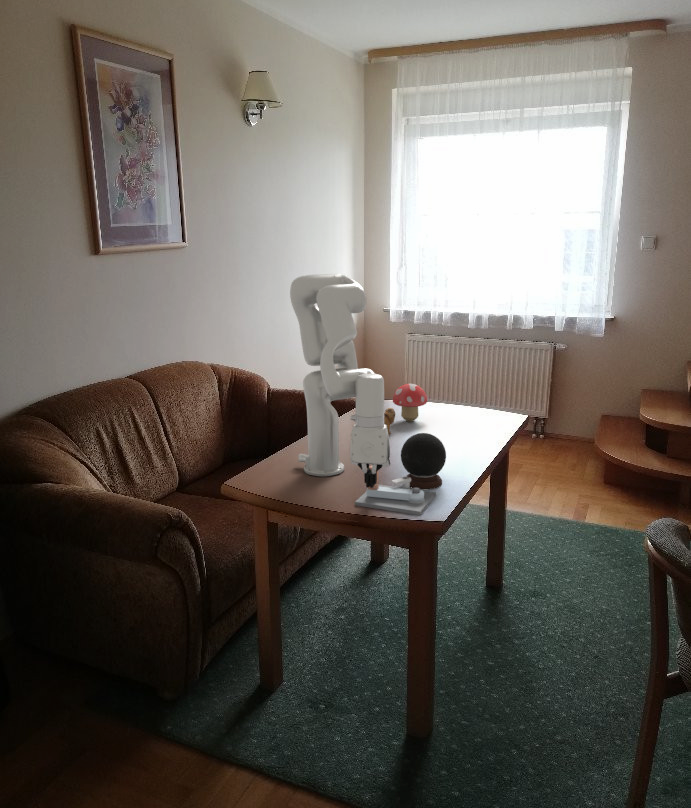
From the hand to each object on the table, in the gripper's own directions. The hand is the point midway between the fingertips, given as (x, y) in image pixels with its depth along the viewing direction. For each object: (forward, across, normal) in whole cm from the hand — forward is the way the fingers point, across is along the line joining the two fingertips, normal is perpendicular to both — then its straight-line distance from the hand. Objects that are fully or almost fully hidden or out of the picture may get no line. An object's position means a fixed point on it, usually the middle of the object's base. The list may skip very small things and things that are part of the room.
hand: (370, 485), depth 183 cm
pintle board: (+5, +6, +4) cm, 9 cm away
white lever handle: (+4, +6, +3) cm, 8 cm away
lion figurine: (+5, -14, +65) cm, 67 cm away
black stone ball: (+5, +11, +19) cm, 23 cm away
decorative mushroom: (+5, -7, +84) cm, 85 cm away
